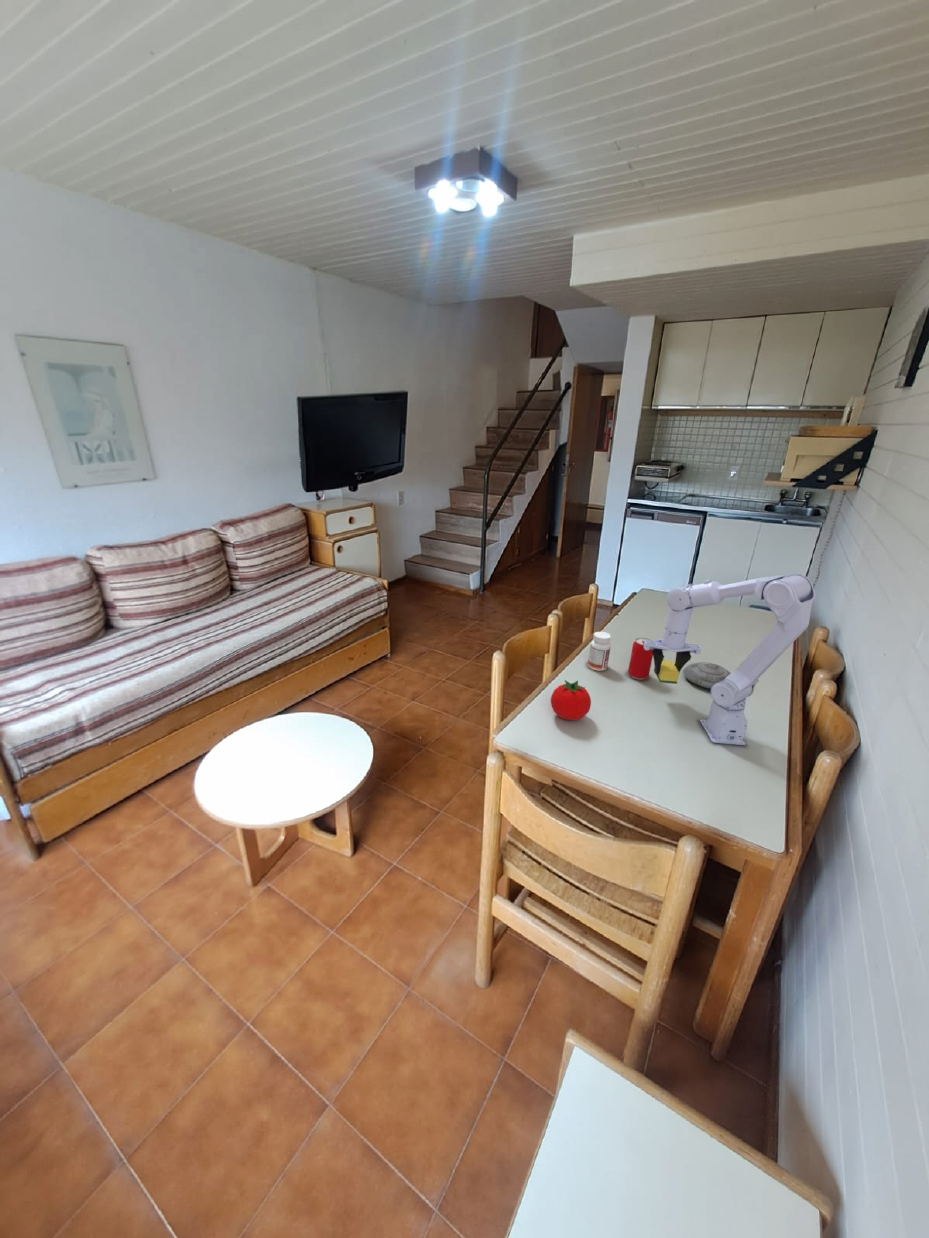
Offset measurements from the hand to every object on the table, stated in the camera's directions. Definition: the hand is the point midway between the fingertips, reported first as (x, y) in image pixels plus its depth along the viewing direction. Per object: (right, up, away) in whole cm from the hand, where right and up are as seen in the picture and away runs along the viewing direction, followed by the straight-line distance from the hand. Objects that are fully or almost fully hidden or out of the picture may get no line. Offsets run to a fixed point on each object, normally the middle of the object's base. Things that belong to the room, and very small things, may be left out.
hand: (666, 673), depth 138 cm
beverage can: (-2, -3, +16) cm, 16 cm away
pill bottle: (-14, 0, +20) cm, 25 cm away
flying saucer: (+19, -4, +14) cm, 24 cm away
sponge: (0, -1, +1) cm, 1 cm away
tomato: (-29, -11, -6) cm, 31 cm away
